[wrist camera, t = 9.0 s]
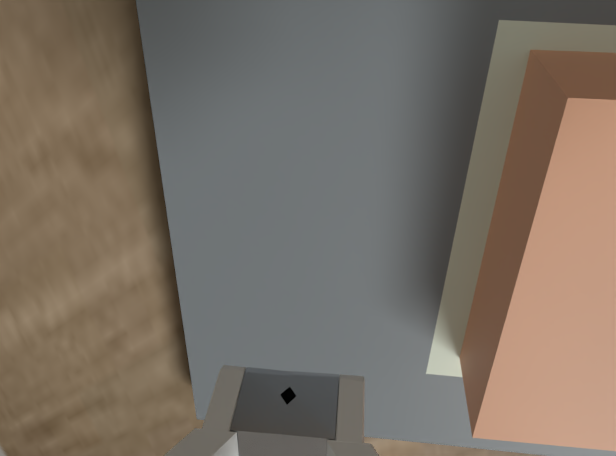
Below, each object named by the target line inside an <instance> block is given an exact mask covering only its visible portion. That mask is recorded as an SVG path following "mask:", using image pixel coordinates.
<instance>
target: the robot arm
mask: <svg viewBox="0 0 616 456" xmlns="http://www.w3.org/2000/svg"><path fill="white" fill-rule="evenodd" d="M338 390H339V392H338ZM364 392H365V380H364V377H363V376H355V375H341V374H340V377H339V374H329V373H314V372H299V371H293V372H291V371H281V370H272V369H262V368H252V367H239V366H229V365H223V367H222V368H221V370H220V371H219V375H218V378H217V381H216V384H215V388H214V391H213V394H212V397H211V401H210V404H209V407H208V410H207V414H206V417H205V420H204V423H203V427H202V429H196V428H195V429H194V430H192V431H191V432H190V433H189V434H188V435H187V436H186V437H184V438H183V439H182V440H181V441H180V442H179V443H177V444H176V445H175V446H174V447H173V448H172V449H171V450H169V451H168V452H167V453H166V454H165V455H164V456H379V455H378V453H377V452H376V450H375V449H374V447H373V446H372V444H368V443H364Z"/></svg>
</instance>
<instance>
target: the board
mask: <svg viewBox="0 0 616 456" xmlns="http://www.w3.org/2000/svg"><path fill="white" fill-rule="evenodd" d="M136 5H137V12H138V19H139V26H140V33H141V39H142V46H143V53H144V60H145V67H146V74H147V80H148V87H149V94H150V101H151V108H152V115H153V122H154V128H155V135H156V142H157V149H158V156H159V163H160V170H161V176H162V183H163V190H164V197H165V204H166V211H167V218H168V224H169V231H170V238H171V245H172V252H173V259H174V266H175V272H176V279H177V286H178V293H179V300H180V307H181V313H182V320H183V327H184V334H185V341H186V348H187V355H188V361H189V368H190V375H191V382H192V389H193V396H194V403H195V409H196V416H197V419H200V420H205V417H206V414H207V410H208V407H209V404H210V401H211V397H212V394H213V391H214V388H215V384H216V381H217V378H218V375H219V371H220V370H221V368H222V367H223V365H229V366H239V367H252V368H262V369H272V370H281V371H291V372H293V371H299V372H314V373H329V374H339V377H340V374H341V375H355V376H363V377H364V380H365V392H364V437H373V438H383V439H392V440H402V441H412V442H421V443H431V444H440V445H450V446H460V447H469V448H479V449H488V450H498V451H508V452H517V453H527V454H537V455H546V456H616V451H608V450H597V449H587V448H576V447H565V446H555V445H544V444H533V443H523V442H512V441H502V440H491V439H480V438H472V433H471V426H470V420H469V414H468V408H467V401H466V395H465V389H464V383H463V377H462V370H461V364H460V354H461V349H462V345H463V341H464V336H465V332H466V328H467V323H468V319H469V315H470V310H471V306H472V302H473V297H474V293H475V288H476V284H477V280H478V275H479V271H480V267H481V262H482V258H483V254H484V249H485V245H486V241H487V236H488V232H489V228H490V223H491V219H492V215H493V210H494V206H495V202H496V197H497V193H498V188H499V184H500V180H501V175H502V171H503V167H504V162H505V158H506V154H507V149H508V145H509V141H510V136H511V132H512V128H513V123H514V119H515V115H516V110H517V106H518V102H519V97H520V93H521V89H522V84H523V80H524V75H525V71H526V67H527V62H528V58H529V54H530V50H553V51H580V52H608V53H616V0H136ZM338 392H339V390H338Z"/></svg>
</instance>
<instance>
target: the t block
mask: <svg viewBox="0 0 616 456" xmlns="http://www.w3.org/2000/svg"><path fill="white" fill-rule="evenodd" d="M460 364H461V370H462V377H463V383H464V389H465V395H466V401H467V408H468V414H469V420H470V426H471V433H472V438H480V439H491V440H502V441H512V442H523V443H533V444H544V445H555V446H565V447H576V448H587V449H597V450H608V451H616V53H608V52H580V51H553V50H530V54H529V58H528V62H527V67H526V71H525V75H524V80H523V84H522V89H521V93H520V97H519V102H518V106H517V110H516V115H515V119H514V123H513V128H512V132H511V136H510V141H509V145H508V149H507V154H506V158H505V162H504V167H503V171H502V175H501V180H500V184H499V188H498V193H497V197H496V202H495V206H494V210H493V215H492V219H491V223H490V228H489V232H488V236H487V241H486V245H485V249H484V254H483V258H482V262H481V267H480V271H479V275H478V280H477V284H476V288H475V293H474V297H473V302H472V306H471V310H470V315H469V319H468V323H467V328H466V332H465V336H464V341H463V345H462V349H461V354H460Z"/></svg>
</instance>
